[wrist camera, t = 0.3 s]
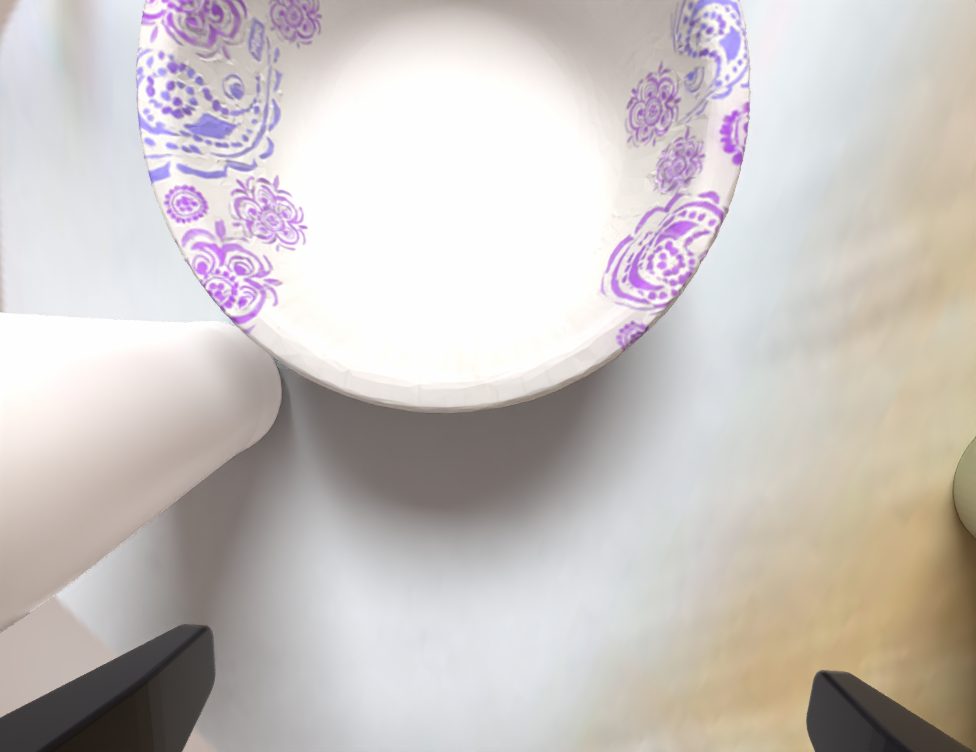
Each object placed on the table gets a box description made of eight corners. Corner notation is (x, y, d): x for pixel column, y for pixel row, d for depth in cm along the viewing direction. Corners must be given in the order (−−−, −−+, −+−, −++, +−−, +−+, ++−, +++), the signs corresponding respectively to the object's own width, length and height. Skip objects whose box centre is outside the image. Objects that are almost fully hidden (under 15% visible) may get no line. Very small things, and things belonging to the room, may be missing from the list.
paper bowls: (695, 335, 21) (800, 358, 14) (318, 405, 23) (214, 464, 15) (635, -92, 19) (716, -353, 12) (223, 8, 21) (44, -169, 13)
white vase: (196, 493, 23) (-359, 839, 8) (110, 349, 23) (-660, 453, 8) (335, 422, 23) (-6, 665, 8) (251, 271, 22) (-302, 223, 7)
